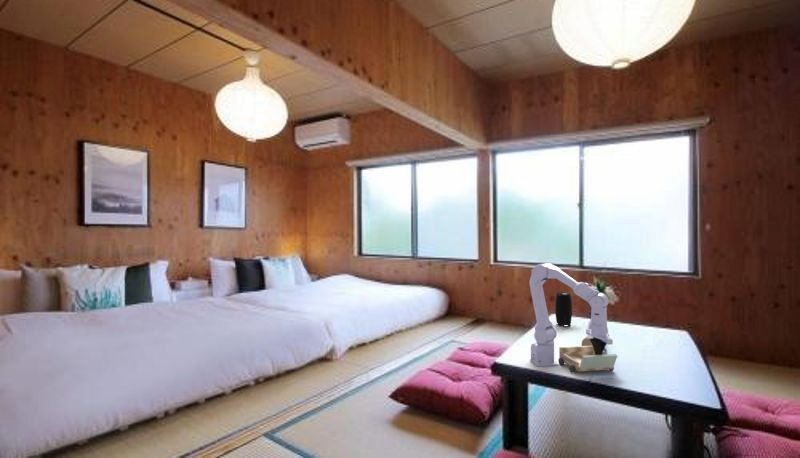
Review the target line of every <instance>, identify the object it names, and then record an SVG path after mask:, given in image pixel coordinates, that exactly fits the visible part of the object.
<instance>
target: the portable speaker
mask: <svg viewBox="0 0 800 458" xmlns="http://www.w3.org/2000/svg"><path fill="white" fill-rule="evenodd" d="M571 294H572V293H571V292H566V291H558V292H556V295H555V309H554V310H555V320H556V324H557V323H558V324H557V325H560V326H561V325H568V326H570V325H572V324H571V323H572V319H573V302H572V296H571ZM569 324H570V325H569Z"/></svg>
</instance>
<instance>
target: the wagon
mask: <svg viewBox="0 0 800 458" xmlns="http://www.w3.org/2000/svg"><path fill="white" fill-rule="evenodd" d="M558 352H559V354H558V355H559V356H558V357H559V358H558V360H557V361H558V365H559V366H564V365H567V366H568V367H569V372H570V373H571V374H575V373H576V372H586V371H587V372H589V371H602V370H606V371H607V370H608V371H611V372H612V371H615V370H614V369H615V366H614V367H609V368H592V369H580V364H581V360H582V356H586V355H595V352H594V348H593V346H582V345H581V346H579V345H577V346H575V345H574V346H560V347H559V351H558Z"/></svg>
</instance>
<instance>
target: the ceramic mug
mask: <svg viewBox="0 0 800 458" xmlns="http://www.w3.org/2000/svg"><path fill="white" fill-rule="evenodd" d="M591 338H593V337H592V336H591V335H586V336H585V337H584V338H583V339H582V341H581V346H593V345H592V343H591V341H590V339H591ZM605 354H608V349H607V347H606V346H605V347H604V350H603V353H602V355H605Z"/></svg>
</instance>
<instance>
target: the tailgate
mask: <svg viewBox="0 0 800 458" xmlns="http://www.w3.org/2000/svg"><path fill="white" fill-rule="evenodd" d="M617 358H618V354H617V353H611V354H610V353H606V354H602V355H586V356H582V360H581V364H580V369H592V368H609V367H614V368H615V365H616V361H617Z"/></svg>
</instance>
